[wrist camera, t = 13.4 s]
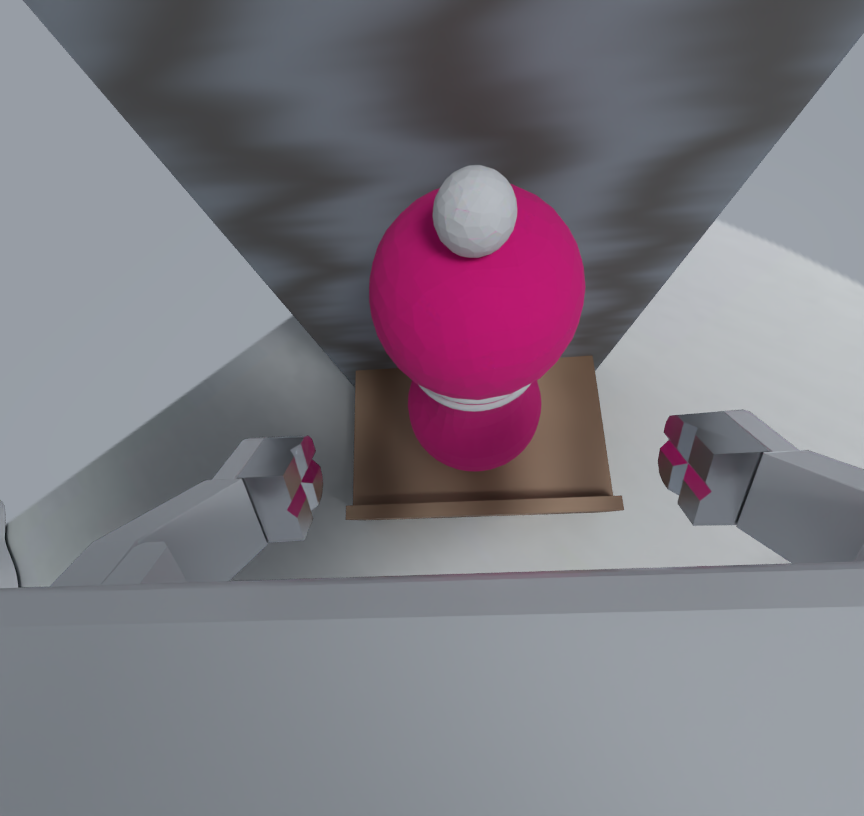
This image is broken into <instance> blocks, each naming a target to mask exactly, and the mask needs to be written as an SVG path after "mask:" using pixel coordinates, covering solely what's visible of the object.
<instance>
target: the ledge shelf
mask: <svg viewBox="0 0 864 816" xmlns="http://www.w3.org/2000/svg"><path fill="white" fill-rule="evenodd" d="M23 1H24V2H25V3H26V4H27V6H28V7H29V8H30V9H31V10H32V11H33V13H34V14H35V15H36V16H37V17H38V18H39V20H40V21H41V22H42V23H43V24H44V25H45V27H46V28H47V29H48V30H49V31H50V32H51V34H52V35H53V36H54V37H55V38H56V39H57V40H58V42H59V43H60V44H61V45H62V46H63V48H65V50H66V51H67V52H68V53H69V55H70V56H71V57H72V58H73V59H74V60H75V62H76V63H77V64H78V65H79V66H80V67H81V69H82V70H83V71H84V72H85V73H86V74H87V75H88V77H89V78H90V79H91V80H92V81H93V82H94V84H95V85H96V86H97V87H98V88H99V89H100V90H101V92H102V93H103V94H104V95H105V96H106V97H107V99H108V100H109V101H110V102H111V103H112V105H113V106H114V107H115V108H116V109H117V110H118V112H119V113H120V114H121V115H122V116H123V117H124V119H125V120H126V121H127V122H128V123H129V124H130V126H131V127H132V128H133V129H134V130H135V131H136V133H137V134H138V135H139V136H140V137H141V138H142V140H143V141H144V142H145V143H146V144H147V145H148V147H149V148H150V149H151V150H152V151H153V152H154V154H155V155H156V156H157V157H158V158H159V159H160V161H161V162H162V163H163V164H164V165H165V166H166V167H167V168H168V170H169V171H170V172H171V173H172V175H173V176H174V177H175V178H176V179H177V180H178V182H179V183H180V184H181V185H182V186H183V187H184V189H185V190H186V191H187V192H188V193H189V194H190V196H191V197H192V198H193V199H194V200H195V201H196V202H197V204H198V205H199V206H200V207H201V208H202V209H203V211H204V212H205V213H206V214H207V215H208V216H209V218H210V219H211V220H212V221H213V222H214V223H215V225H216V226H217V227H218V228H219V229H220V230H221V232H222V233H223V234H224V235H225V236H226V237H227V239H228V240H229V241H230V242H231V243H232V244H233V246H234V247H235V248H236V249H237V250H238V251H239V252H240V254H241V255H242V256H243V257H244V258H245V259H246V261H247V262H248V263H249V264H250V265H251V267H252V268H253V269H254V270H255V271H256V272H257V273H258V275H259V276H260V277H261V278H262V279H263V281H264V282H265V283H266V284H267V285H268V286H269V288H270V289H271V290H272V291H273V292H274V293H275V294H276V296H277V297H278V298H279V299H280V300H281V302H282V303H283V304H284V305H285V306H286V307H287V308H288V309H289V311H290V312H291V313H292V314H293V316H294V317H295V318H296V319H297V320H298V321H299V323H300V324H301V325H302V326H303V327H304V328H305V330H306V331H307V332H308V333H309V334H310V335H311V337H312V338H313V339H314V340H315V341H316V342H317V344H318V345H319V346H320V347H321V348H322V349H323V351H324V352H325V353H326V354H327V355H328V356H329V358H330V359H331V360H332V361H333V362H334V363H335V364H336V366H337V367H338V368H339V369H340V370H341V371H342V373H343V374H344V375H345V376H346V377H347V378H348V380H349V381H350V382H351V383H352V384H353V385H355V429H354V479H353V506H346V520H390V519H419V518H449V517H478V516H508V515H537V514H567V513H596V512H610V511H620V510H624V507H623V500H622V496H613V492H612V485H611V478H610V471H609V465H608V458H607V451H606V444H605V437H604V430H603V424H602V417H601V410H600V403H599V396H598V389H597V383H596V376H595V370H596V369H597V368H598V367H599V365H600V364H601V363H602V362H603V360H604V359H605V358H606V357H607V355H608V354H609V353H610V352H611V350H612V349H613V348H614V346H615V345H616V344H617V343H618V341H619V340H620V339H621V338H622V336H623V335H624V334H625V333H626V331H627V330H628V329H629V328H630V326H631V325H632V324H633V323H634V321H635V320H636V319H637V318H638V316H639V315H640V314H641V312H642V311H643V310H644V309H645V307H646V306H647V305H648V304H649V302H650V301H651V300H652V299H653V297H654V296H655V295H656V294H657V292H658V291H659V290H660V289H661V287H662V286H663V285H664V284H665V282H666V281H667V280H668V279H669V277H670V276H671V275H672V273H673V272H674V271H675V270H676V268H677V267H678V266H679V265H680V263H681V262H682V261H683V260H684V258H685V257H686V256H687V255H688V253H689V252H690V251H691V250H692V248H693V247H694V246H695V245H696V243H697V242H698V241H699V240H700V238H701V237H702V236H703V234H704V233H705V232H706V231H707V229H708V228H709V227H710V226H711V224H712V223H713V222H714V221H715V219H716V218H717V217H718V216H719V214H720V213H721V212H722V211H723V209H724V208H725V207H726V205H727V204H728V203H729V202H730V200H731V199H732V198H733V197H734V195H735V194H736V193H737V192H738V190H739V189H740V188H741V187H742V185H743V184H744V183H745V182H746V180H747V179H748V178H749V176H750V175H751V174H752V173H753V172H754V170H755V169H756V168H757V166H758V165H759V164H760V163H761V161H762V160H763V159H764V158H765V156H766V155H767V154H768V153H769V151H770V150H771V149H772V148H773V146H774V145H775V144H776V143H777V141H778V140H779V139H780V138H781V136H782V135H783V134H784V133H785V131H786V130H787V129H788V128H789V126H790V125H791V124H792V122H793V121H794V120H795V118H796V117H797V116H798V115H799V113H800V112H801V111H802V110H803V108H804V107H805V106H806V105H807V104H808V102H809V101H810V100H811V99H812V97H813V96H814V95H815V93H816V92H817V91H818V90H819V88H820V87H821V86H822V85H823V83H824V82H825V81H826V79H827V78H828V77H829V76H830V75H831V73H832V72H833V71H834V70H835V68H836V67H837V66H838V65H839V63H840V62H841V61H842V59H843V58H844V57H845V56H846V55H847V53H848V52H849V51H850V49H851V48H852V47H853V45H854V44H855V43H856V42H857V41H858V39H859V38H860V37H861V36H862V34H863V33H864V0H23ZM470 165H482V166H485V167H489V168H492V169H495V170H496V171H498V172H499V173H500V174H502V175H503V176H504V177H505V178H506V179H507V180H508V182H509V183H510V184H513V185H515V186H517V187H519V188H522V189H524V190H526V191H528V192H531V193H533V194H535V195H537V196H538V197H539V198H541V199H542V200H543V201H545V202H546V203H547V204H548V205H550V206H551V207H552V208H554V210H555V211H556V212H557V214H558V215H559V216H560V217H561V219H562V220H563V221H564V223H565V224H566V225H567V226H568V228H569V229H570V231H571V233H572V235H573V237H574V239H575V241H576V243H577V245H578V248H579V252H580V255H581V258H582V262H583V266H584V276H585V286H586V287H585V296H584V304H583V308H582V312H581V316H580V320H579V324H578V327H577V329H576V332H575V334H574V336H573V339H572V340H571V342H570V343H569V345H568V346H567V348H566V349H565V351H564V352H563V354H562V355H561V357H560V358H559V359H558V361H557V362H556V363H555V364H554V365H553V366H552V367H551V368H550V369H549V370H548V371H547V372H546V373H545V374H544V375H543V376H542V377H541V378H540V379H538V380H537V382H538V386H539V389H540V393H541V414H540V418H539V422H538V426H537V429H536V431H535V434H534V436H533V438H532V439H531V441H530V443H529V444H528V445H527V447H526V448H525V449H524V450H523V451H522V452H521V453H520V454H519V455H518V456H517V457H516V458H514V459H513V460H511V461H510V462H508V463H506V464H505V465H502V466H500V467H497V468H494V469H491V470H485V471H463V470H458V469H455V468H452V467H449V466H447V465H445V464H443V463H441V462H439V461H438V460H436V459H435V458H434V457H432V456H431V455H430V454H429V453H428V452H427V451H426V450H425V449H424V448H423V447H422V446H421V444H420V443H419V441H418V439H417V438H416V436H415V434H414V431H413V429H412V425H411V422H410V417H409V411H408V393H409V389H410V385H411V382H412V380H411V379H410V378H409V377H408V376H407V375H406V374H404V373H403V372H402V371H401V370H400V369H399V368H398V367H397V366H396V364H395V363H394V362H393V360H392V359H391V358H390V357H389V355H388V354H387V353H386V351H385V349H384V347H383V346H382V344H381V342H380V340H379V338H378V336H377V333H376V330H375V327H374V324H373V320H372V317H371V310H370V304H369V279H370V273H371V268H372V263H373V260H374V257H375V253H376V250H377V247H378V245H379V243H380V241H381V239H382V237H383V235H384V233H385V231H386V230H387V229H388V228H389V226H390V225H391V224H392V223H393V222H394V221H395V219H396V218H397V217H398V216H399V215H400V214H401V213H402V212H403V211H404V210H405V209H406V208H407V207H408V206H410V205H411V204H412V203H413V202H414V201H415V200H416V199H418V198H420V197H422V196H424V195H425V194H427V193H429V192H431V191H433V190H436V189H438V188H440V187H441V186H442V184H443V183H444V181H445V180H446V178H448V177H449V176H450V175H451V174H452V173H453V172H455V171H457V170H459V169H461V168H463V167H466V166H470Z"/></svg>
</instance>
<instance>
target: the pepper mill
mask: <svg viewBox="0 0 864 816" xmlns="http://www.w3.org/2000/svg"><path fill="white" fill-rule="evenodd" d="M585 287H586V286H585V276H584V266H583V262H582V258H581V255H580V252H579V248H578V245H577V243H576V241H575V239H574V237H573V235H572V233H571V231H570V229H569V228H568V226H567V225H566V224H565V223H564V221H563V220H562V219H561V217H560V216H559V215H558V214H557V212H556V211H555V210H554V208H552V207H551V206H550V205H548V204H547V203H546V202H545V201H543V200H542V199H541V198H539V197H538V196H537V195H535V194H533V193H531V192H528V191H526V190H524V189H522V188H519V187H517V186H515V185H513V184H510V183H509V182H508V180H507V179H506V178H505V177H504V176H503V175H502V174H500V173H499V172H498V171H496V170H495V169H492V168H489V167H485V166H482V165H470V166H466V167H463V168H461V169H459V170H457V171H455V172H453V173H452V174H451V175H450V176H449V177H448V178H446V180H445V181H444V183H443V184H442V186H441V187H440V188H438V189H436V190H433V191H431V192H429V193H427V194H425V195H424V196H422V197H420V198H418V199H416V200H415V201H414V202H413V203H412V204H411V205H410V206H408V207H407V208H406V209H405V210H404V211H403V212H402V213H401V214H400V215H399V216H398V217H397V218H396V219H395V221H394V222H393V223H392V224H391V225H390V226H389V228H388V229H387V230H386V231H385V233H384V235H383V237H382V239H381V241H380V243H379V245H378V247H377V250H376V253H375V257H374V260H373V263H372V268H371V273H370V279H369V304H370V310H371V317H372V320H373V324H374V327H375V330H376V333H377V336H378V338H379V340H380V342H381V344H382V346H383V347H384V349H385V351H386V353H387V354H388V355H389V357H390V358H391V359H392V360H393V362H394V363H395V364H396V366H397V367H398V368H399V369H400V370H401V371H402V372H403V373H404V374H406V375H407V376H408V377H409V378H410V379H411V380H412V382H411V385H410V389H409V393H408V411H409V417H410V422H411V425H412V429H413V431H414V434H415V436H416V438H417V439H418V441H419V443H420V444H421V446H422V447H423V448H424V449H425V450H426V451H427V452H428V453H429V454H430V455H431V456H432V457H434V458H435V459H436V460H438V461H439V462H441V463H443V464H445V465H447V466H449V467H452V468H455V469H458V470H463V471H485V470H491V469H494V468H497V467H500V466H502V465H505V464H506V463H508V462H510V461H511V460H513V459H514V458H516V457H517V456H518V455H519V454H520V453H521V452H522V451H523V450H524V449H525V448H526V447H527V445H528V444H529V443H530V441H531V439H532V438H533V436H534V434H535V431H536V429H537V426H538V422H539V418H540V414H541V393H540V389H539V386H538V382H537V380H538V379H540V378H541V377H542V376H543V375H544V374H545V373H546V372H547V371H548V370H549V369H550V368H551V367H552V366H553V365H554V364H555V363H556V362H557V361H558V359H559V358H560V357H561V355H562V354H563V352H564V351H565V349H566V348H567V346H568V345H569V343H570V342H571V340H572V339H573V336H574V334H575V332H576V329H577V327H578V324H579V320H580V316H581V312H582V308H583V304H584V296H585Z"/></svg>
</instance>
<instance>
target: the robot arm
mask: <svg viewBox="0 0 864 816" xmlns="http://www.w3.org/2000/svg"><path fill="white" fill-rule="evenodd" d="M664 433H665V435H666V436H667V438H668V439H669V440H668V441H667V442H666V443H665V444H664V445H663V446H662V447H661V448H660V452H659V458H658V466H659V473H660V476H661V479H662V481H663V483H664V484H665V486H666V487H667V489H668V490H670V491H672V492H674V493H676V494H677V495H679V499H678V505H679V506H680V508H681V509H682V510H683V512H684V513H685V515H686V516H687V518H688V519H689V520H690V522H691V523H692V525H693V526H697V525H737V526H736V527H737V528H739V529H740V530H742V531H743V532H745V533H747V534H748V535H750V536H751V537H753V538H754V539H756V540H757V541H759V542H760V543H762V544H763V545H765V546H766V547H768V548H769V549H771V550H772V551H774V552H776V553H777V554H779V555H780V556H782V557H783V558H785V559H786V560H788V561H789V562H791V563H792V564H762V565H729V566H697V567H664V568H631V569H599V570H567V571H537V572H506V573H475V574H443V575H411V576H378V577H346V578H313V579H281V580H249V581H229V580H230V579H231V578H233V577H234V576H235V575H236V574H237V573H238V572H239V571H240V570H241V569H242V568H243V567H244V566H245V565H246V564H248V563H249V562H250V561H251V560H252V559H253V558H254V557H255V556H256V555H257V554H258V553H259V552H260V551H261V550H262V549H264V548H265V547H266V546H267V543H272V542H287V541H302V540H305V538H306V535H307V533H308V530H309V528H310V525H311V523H312V520H313V516H312V513H311V510H312V509H314V508H315V507H316V506H318V505H319V502H320V499H321V497H322V489H323V479H322V472H321V468H320V466H319V465H318V464H317V463H316V462H315V461H313V460H312V458H313V456H314V454H315V451H316V450H315V447H314V444H313V441H312V439H311V438H310V437H309V436H283V437H258V438H247V439H244V440H242V442H241V443H240V444H239V445H238V447H237V448H236V449H235V451H234V452H233V453H232V454H231V456H230V457H229V458H228V460H227V461H226V462H225V463H224V465H223V466H222V467H221V469H220V470H219V471H218V472H217V474H216V475H215V476H214V478H213V479H212V480H205V481H203V482H201V483H199V484H197V485H196V486H194V487H192V488H190V489H188V490H186V491H185V492H183V493H181V494H179V495H177V496H176V497H174V498H172V499H170V500H168V501H167V502H165V503H163V504H161V505H159V506H157V507H156V508H154V509H152V510H150V511H148V512H147V513H145V514H143V515H141V516H139V517H138V518H136V519H134V520H132V521H130V522H128V523H127V524H125V525H123V526H121V527H119V528H118V529H116V530H114V531H112V532H110V533H109V534H107V535H105V536H103V537H101V538H100V539H98V540H96V541H94V542H92V543H91V544H90V545H89V546H88V547H87V548H86V549H85V550H84V551H83V552H82V553H81V555H80V556H79V557H78V558H77V559H76V560H75V561H74V562H73V563H72V564H71V565H70V566H69V567H68V568H67V569H66V570H65V571H64V572H63V573H62V574H61V575H60V576H59V577H58V578H57V579H56V580H55V581H54V582H53V583H52V585H51V586H50V587H22V588H18V581H17V575H16V571H15V568H14V564H13V562H12V559H11V557H10V554H9V552H8V549H7V546H6V542H5V508H4V504H3V503H2V501H1V500H0V816H864V469H861V468H858V467H856V466H853V465H850V464H847V463H844V462H841V461H838V460H835V459H832V458H829V457H826V456H824V455H821V454H818V453H815V452H812V451H809V450H801V451H800V450H799V449H797V448H796V447H795V446H793V445H792V444H791V443H790V442H788V441H787V440H786V439H785V438H783V437H782V436H781V435H779V434H778V433H777V432H776V431H774V430H773V429H772V428H771V427H769V426H768V425H767V424H765V423H764V422H763V421H762V420H760V419H759V418H758V417H756V416H755V415H754V414H753V413H751V412H750V411H747V410H743V409H742V410H731V411H720V412H709V413H697V414H685V415H673V416H669V418H668V420H667V421H666V424H665V428H664Z"/></svg>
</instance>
